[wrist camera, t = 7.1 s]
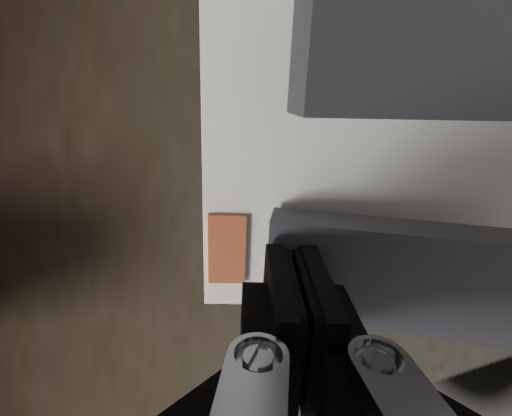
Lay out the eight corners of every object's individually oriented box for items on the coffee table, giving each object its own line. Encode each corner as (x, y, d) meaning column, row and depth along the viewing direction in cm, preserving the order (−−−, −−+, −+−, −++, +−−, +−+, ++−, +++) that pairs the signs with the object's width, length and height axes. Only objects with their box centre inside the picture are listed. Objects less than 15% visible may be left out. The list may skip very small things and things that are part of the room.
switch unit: (204, -473, 9) (180, -819, 6) (709, -419, 10) (972, -701, 6) (211, 265, 17) (202, 314, 13) (492, 270, 17) (554, 318, 14)
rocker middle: (297, -43, 8) (318, -65, 7) (589, -9, 10) (649, -21, 9) (286, 112, 10) (303, 117, 8) (549, 117, 11) (595, 122, 10)
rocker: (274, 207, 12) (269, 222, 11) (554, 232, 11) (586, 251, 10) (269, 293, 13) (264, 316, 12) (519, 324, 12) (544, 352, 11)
